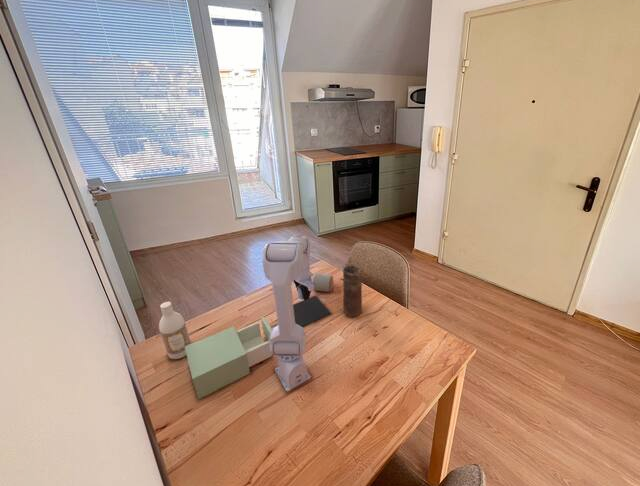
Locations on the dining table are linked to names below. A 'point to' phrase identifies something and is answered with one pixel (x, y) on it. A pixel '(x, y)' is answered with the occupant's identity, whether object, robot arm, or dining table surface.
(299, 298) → the bottle
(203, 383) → the green drawer cabinet
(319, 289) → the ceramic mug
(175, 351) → the bath foam
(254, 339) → the drawer
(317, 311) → the mat
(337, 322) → the dining table surface
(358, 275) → the dark brown flask
